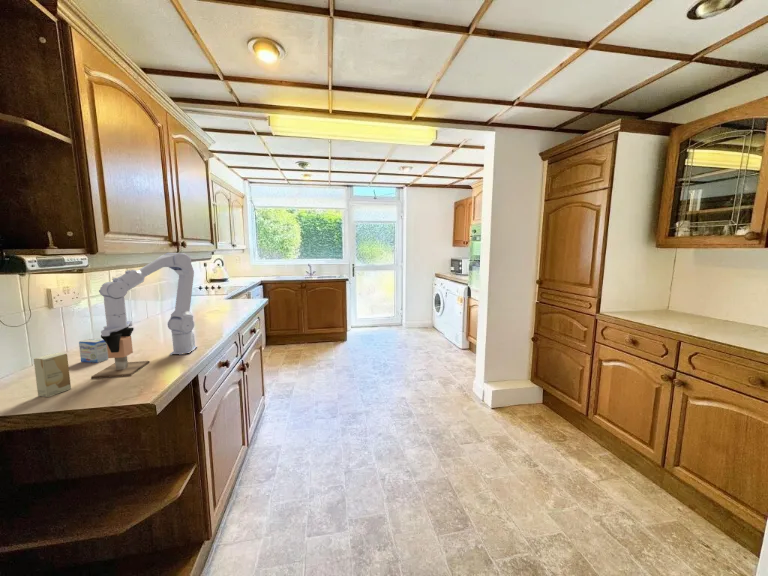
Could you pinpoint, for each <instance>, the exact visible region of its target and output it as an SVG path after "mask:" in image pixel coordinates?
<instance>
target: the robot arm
mask: <svg viewBox="0 0 768 576" xmlns="http://www.w3.org/2000/svg"><path fill="white" fill-rule="evenodd" d="M163 268H169V269H172V270H173V271H174V272H175V273H176V274H177V275H178V280H177V290H176V298H175V306H174V308H175V309H174V311H173V312H171V314H170V318H169V320H168V321H167V328H168V329H169V330H170V331H171V337H172V341H171V342H172V349H173V350H172V351H171V352H170V353H169V356H173V355H172V354H179V355H183V354H182V353H189V352H190V351H192V350H194V349H195V348H196V347H197V348H198V345H196V340H195V339H196V338H195V333H194V332H193V330H194V328H195V321H194V315H193V314H192V313H191V309H190V308H191V301H192V294H193V285H194V277H195V270H194V268H193V264H192V258H191V257H190V256H189V255H188V254H187V253H185V252H166V253H164V254H162V255H159V256H158V257H156V259H154V260H151V262H149V263H147V264H145V265H144V266H143V267H141V268H139V269H138V270H137V269H127V270H125V271H124V274H122V275H120V276H118V277H113V278H112V281H107V282H104V283H102V285H101V286H100V289H99V290H98V292H99V294H100V295H101V296H102V297H103V305H104V313H105V321H106V325H105V326H103V329H102V330H101V331H100V334H101V335H100V339H101V340H104V341H105V342H106V343H107V345H108V347H109V349H110V351H111V353H114V352H119V343H120V338H121V337H122V336H131V335H132V334H133V332H134V330H135V328H134V327H132V326H133V322H132V321H131V320H128V319H127V310H126V301H125V296H127V294H128V292H129V291H130V290H132V289H133V288H136V287H137V286H139V285H140V284H141V283H143V282H144V281H145V277H147V276H149V275H151V274H153V273H155V272H158V271H159V270H161V269H163ZM131 337H132V336H131ZM197 348H196V349H197ZM196 349H195V350H196ZM195 350H194V351H195ZM192 352H193V351H192Z"/></svg>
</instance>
